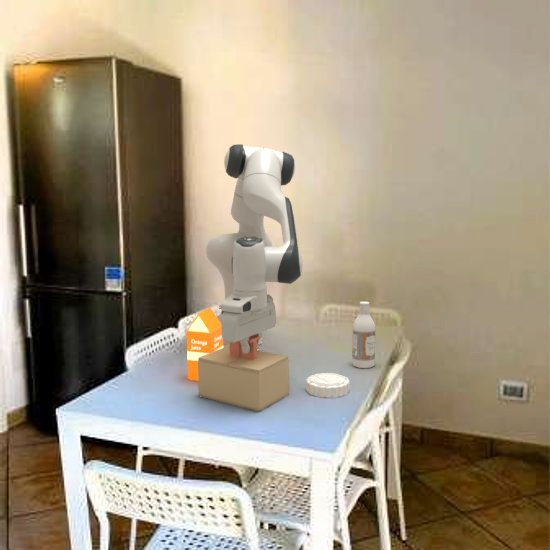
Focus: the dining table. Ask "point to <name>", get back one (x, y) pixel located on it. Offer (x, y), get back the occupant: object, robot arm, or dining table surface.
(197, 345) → the orange juice
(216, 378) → the carton
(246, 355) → the flap right
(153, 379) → the dining table surface
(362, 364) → the bath foam
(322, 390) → the mooncake
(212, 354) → the flap left
